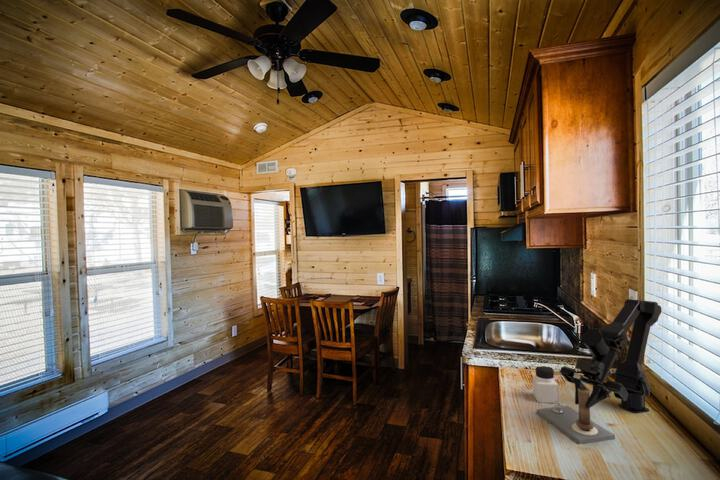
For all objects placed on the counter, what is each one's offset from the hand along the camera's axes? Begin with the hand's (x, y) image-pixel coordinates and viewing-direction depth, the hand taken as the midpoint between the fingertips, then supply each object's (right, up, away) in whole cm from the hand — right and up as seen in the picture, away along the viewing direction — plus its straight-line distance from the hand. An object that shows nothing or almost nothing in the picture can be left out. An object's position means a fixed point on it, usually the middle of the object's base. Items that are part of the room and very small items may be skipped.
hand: (581, 405), depth 116 cm
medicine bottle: (+1, -9, +25) cm, 27 cm away
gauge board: (+1, -9, +6) cm, 10 cm away
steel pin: (-1, -7, +13) cm, 15 cm away
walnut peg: (+1, -7, +1) cm, 7 cm away
